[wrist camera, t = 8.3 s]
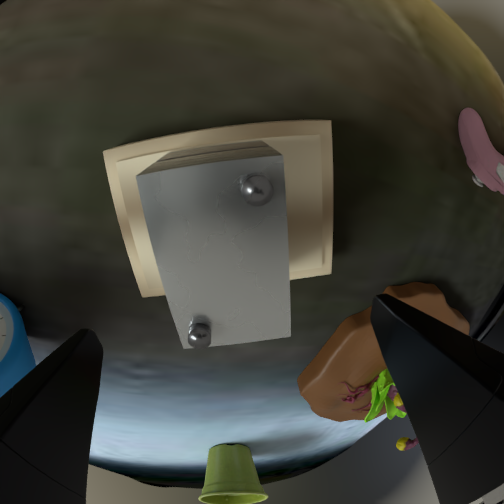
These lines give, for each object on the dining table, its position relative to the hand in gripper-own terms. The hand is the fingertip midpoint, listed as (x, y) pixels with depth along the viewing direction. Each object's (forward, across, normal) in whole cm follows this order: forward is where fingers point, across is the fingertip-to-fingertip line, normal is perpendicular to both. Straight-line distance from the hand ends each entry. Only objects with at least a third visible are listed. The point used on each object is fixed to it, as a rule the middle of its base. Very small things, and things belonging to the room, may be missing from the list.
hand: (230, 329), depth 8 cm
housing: (+9, 0, 0) cm, 9 cm away
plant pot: (+12, +5, +36) cm, 38 cm away
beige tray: (+11, 0, 0) cm, 11 cm away
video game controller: (+12, -22, -3) cm, 26 cm away
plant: (+12, -15, +19) cm, 27 cm away
